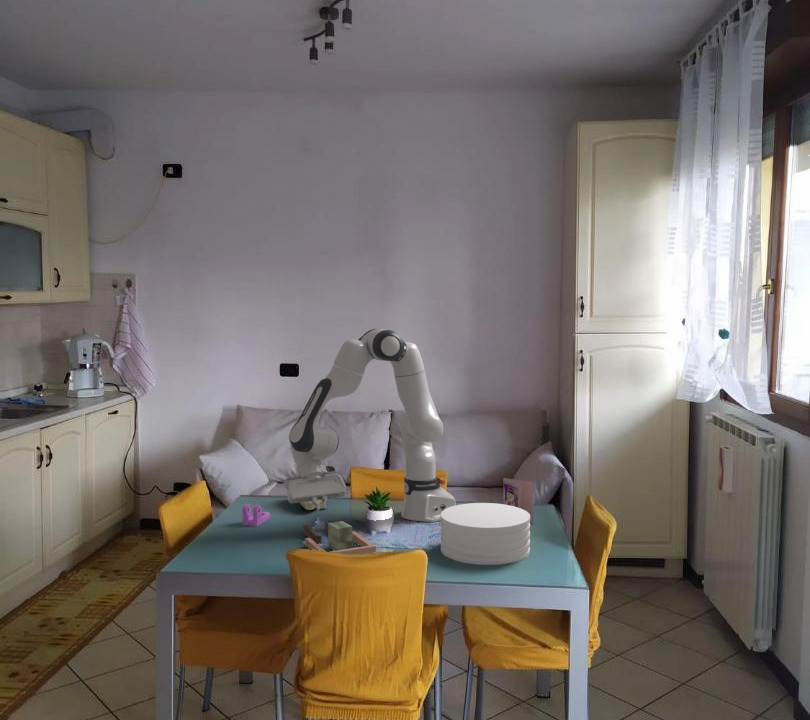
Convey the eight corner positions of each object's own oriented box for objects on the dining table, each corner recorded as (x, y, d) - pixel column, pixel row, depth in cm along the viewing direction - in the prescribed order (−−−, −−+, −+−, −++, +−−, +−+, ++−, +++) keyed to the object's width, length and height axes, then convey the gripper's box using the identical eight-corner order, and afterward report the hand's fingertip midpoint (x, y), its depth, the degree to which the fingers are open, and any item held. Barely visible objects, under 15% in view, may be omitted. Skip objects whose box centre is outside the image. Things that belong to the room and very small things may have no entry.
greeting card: (501, 519, 282) (501, 478, 281) (519, 517, 285) (519, 476, 284) (517, 528, 272) (518, 485, 270) (536, 525, 275) (536, 483, 273)
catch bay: (354, 538, 261) (354, 531, 261) (375, 554, 246) (375, 546, 245) (305, 545, 254) (305, 538, 254) (323, 562, 238) (323, 554, 238)
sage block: (342, 545, 255) (342, 521, 254) (352, 551, 249) (352, 526, 248) (328, 547, 252) (328, 523, 251) (338, 554, 246) (337, 528, 245)
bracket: (257, 526, 276) (256, 506, 276) (242, 525, 278) (242, 505, 277) (272, 516, 289) (272, 497, 288) (259, 515, 290) (258, 496, 290)
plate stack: (436, 537, 262) (436, 503, 261) (519, 535, 264) (520, 501, 263) (445, 566, 234) (445, 528, 234) (539, 564, 236) (539, 526, 235)
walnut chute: (328, 528, 272) (328, 521, 272) (343, 540, 260) (343, 532, 259) (303, 532, 268) (303, 525, 268) (317, 544, 256) (316, 536, 255)
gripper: (284, 473, 265) (294, 509, 257) (341, 466, 274) (352, 500, 266) (280, 483, 269) (290, 518, 261) (336, 476, 278) (347, 510, 270)
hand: (322, 509), depth 264 cm, fingers closed
